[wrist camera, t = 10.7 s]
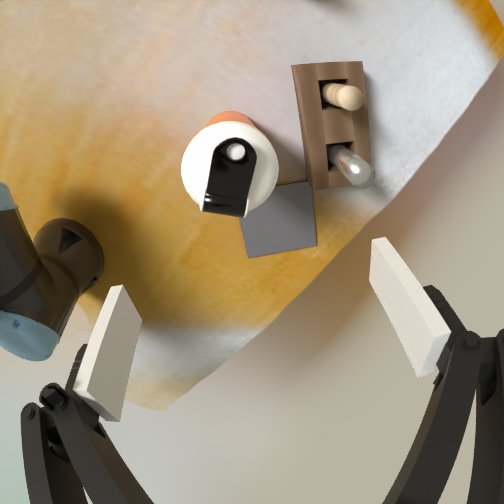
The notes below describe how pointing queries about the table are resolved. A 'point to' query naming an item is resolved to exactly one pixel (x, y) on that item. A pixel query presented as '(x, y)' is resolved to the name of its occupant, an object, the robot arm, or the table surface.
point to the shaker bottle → (229, 166)
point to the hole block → (329, 120)
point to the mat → (281, 221)
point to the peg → (350, 165)
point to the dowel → (341, 95)
